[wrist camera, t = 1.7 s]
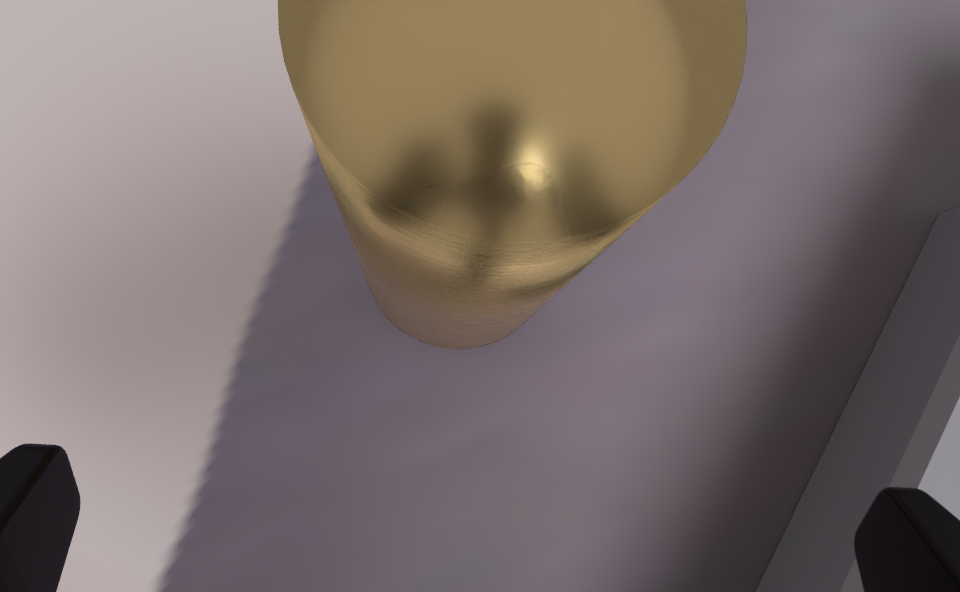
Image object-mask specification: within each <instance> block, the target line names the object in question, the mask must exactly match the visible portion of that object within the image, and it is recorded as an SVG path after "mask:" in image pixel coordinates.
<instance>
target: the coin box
mask: <svg viewBox="0 0 960 592" xmlns="http://www.w3.org/2000/svg"><path fill="white" fill-rule="evenodd" d="M885 487H904V488H917V489H920V490H923V491H924V492H926V493H927V494H929V495H930V496H931V497H933V498H934V499H935V500H936V501H937V502H939V503H940V504H941V505H942V506H943V507H945V508H946V509H947V510H948V511H949V512H951V513H952V514H953V515H954V516H955V517H957V518H958V519H959V520H960V206H957V207H955V208H952V209H950V210H947V211H944V212H942V213H939V215H938V217H937V219H936V221H935V223H934V225H933V227H932V229H931V231H930V233H929V235H928V237H927V239H926V242H925V244H924V246H923V248H922V250H921V252H920V254H919V256H918V258H917V260H916V262H915V264H914V266H913V268H912V270H911V272H910V274H909V277H908V279H907V281H906V283H905V285H904V287H903V289H902V291H901V293H900V295H899V297H898V299H897V301H896V303H895V305H894V307H893V309H892V312H891V314H890V316H889V318H888V320H887V322H886V324H885V326H884V328H883V330H882V332H881V334H880V336H879V338H878V340H877V342H876V344H875V347H874V349H873V351H872V353H871V355H870V357H869V359H868V361H867V363H866V365H865V367H864V369H863V371H862V373H861V375H860V377H859V379H858V382H857V384H856V386H855V388H854V390H853V392H852V394H851V396H850V398H849V400H848V402H847V404H846V406H845V408H844V410H843V412H842V414H841V417H840V419H839V421H838V423H837V425H836V427H835V429H834V431H833V433H832V435H831V437H830V439H829V441H828V443H827V445H826V447H825V449H824V452H823V454H822V456H821V458H820V460H819V462H818V464H817V466H816V468H815V470H814V472H813V474H812V476H811V478H810V480H809V482H808V484H807V487H806V489H805V491H804V493H803V495H802V497H801V499H800V501H799V503H798V505H797V507H796V509H795V511H794V513H793V515H792V517H791V519H790V522H789V524H788V526H787V528H786V530H785V532H784V534H783V536H782V538H781V540H780V542H779V544H778V546H777V548H776V550H775V552H774V554H773V557H772V559H771V561H770V563H769V565H768V567H767V569H766V571H765V573H764V575H763V577H762V579H761V581H760V583H759V585H758V587H757V589H756V592H864V590H863V586H862V581H861V577H860V573H859V569H858V565H857V560H856V556H855V551H854V536H855V532H856V529H857V527H858V526H859V524H860V522H861V521H862V519H863V517H864V515H865V514H866V512H867V510H868V509H869V507H870V505H871V504H872V502H873V500H874V498H875V497H876V495H877V494H878V492H879V491H880V490H882V489H884V488H885Z"/></svg>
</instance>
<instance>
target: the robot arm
mask: <svg viewBox="0 0 960 592" xmlns="http://www.w3.org/2000/svg"><path fill="white" fill-rule="evenodd" d="M79 511H80V494H79V491H78V487H77V485H76V481H75V478H74V475H73V472H72V469H71V465H70V462H69V459H68V456H67V454H66V451H65V450H64V449H63V448H62V447H60V446H57V445H45V444H23V445H20V446H18V447H15V448H14V449H12V450H11V451H10V452H8V453H7V454H6V455H4V456H3V457H2V458H0V592H56V590H57V587H58V583H59V580H60V577H61V574H62V570H63V567H64V564H65V560H66V557H67V553H68V550H69V547H70V543H71V540H72V537H73V534H74V530H75V527H76V524H77V520H78V516H79ZM854 551H855V556H856V560H857V565H858V569H859V573H860V577H861V581H862V586H863V590H864V592H960V520H959V519H958V518H957V517H955V516H954V515H953V514H952V513H951V512H949V511H948V510H947V509H946V508H945V507H943V506H942V505H941V504H940V503H939V502H937V501H936V500H935V499H934V498H933V497H931V496H930V495H929V494H927V493H926V492H924V491H923V490H920V489H917V488H904V487H885V488H884V489H882V490H880V491H879V492H878V494H877V495H876V497H875V498H874V500H873V502H872V504H871V505H870V507H869V509H868V510H867V512H866V514H865V515H864V517H863V519H862V521H861V522H860V524H859V526H858V527H857V529H856V532H855V536H854Z"/></svg>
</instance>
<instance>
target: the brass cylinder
mask: <svg viewBox="0 0 960 592" xmlns="http://www.w3.org/2000/svg"><path fill="white" fill-rule="evenodd" d="M278 16H279V34H280V39H281V46H282V52H283V57H284V62H285V65H286V68H287V71H288V74H289V77H290V81H291V84H292V87H293V90H294V92H295V95H296V97H297V100H298V103H299V105H300V108H301V111H302V113H303V116H304V118H305V121H306V124H307V126H308V129H309V132H310V134H311V137H312V139H313V142H314V145H315V147H316V150H317V152H318V155H319V158H320V160H321V163H322V166H323V168H324V171H325V173H326V176H327V179H328V181H329V184H330V186H331V189H332V192H333V194H334V197H335V199H336V202H337V205H338V207H339V210H340V213H341V215H342V218H343V220H344V223H345V226H346V228H347V231H348V233H349V236H350V239H351V241H352V244H353V246H354V249H355V252H356V254H357V257H358V260H359V262H360V265H361V267H362V270H363V273H364V275H365V278H366V280H367V283H368V286H369V288H370V291H371V293H372V295H373V297H374V299H375V301H376V303H377V304H378V306H379V307H380V309H381V310H382V312H383V313H384V314H385V315H386V316H387V317H388V319H389V320H390V321H391V322H392V323H393V324H395V325H396V326H397V327H398V328H399V329H400V330H402V331H403V332H405V333H406V334H408V335H409V336H411V337H413V338H415V339H417V340H419V341H421V342H424V343H426V344H429V345H432V346H436V347H441V348H448V349H470V348H475V347H481V346H484V345H487V344H490V343H493V342H496V341H498V340H500V339H502V338H504V337H506V336H507V335H509V334H510V333H512V332H513V331H515V330H516V329H517V328H518V327H520V326H521V325H522V324H523V323H524V322H525V321H526V320H528V319H529V318H530V317H531V316H532V315H533V314H534V313H535V312H536V311H537V310H539V309H540V308H541V307H542V306H543V305H544V304H545V303H546V302H547V301H549V300H550V299H551V298H552V297H553V296H554V295H555V294H556V293H557V292H559V291H560V290H561V289H562V288H563V287H564V286H565V285H566V284H567V283H569V282H570V281H571V280H572V279H573V278H574V277H575V276H576V275H577V274H579V273H580V272H581V271H582V270H583V269H584V268H585V267H586V266H587V265H588V264H590V263H591V262H592V261H593V260H594V259H595V258H596V257H597V256H598V255H600V254H601V253H602V252H603V251H604V250H605V249H606V248H607V247H608V246H610V245H611V244H612V243H613V242H614V241H615V240H616V239H617V238H618V237H620V236H621V235H622V234H623V233H624V232H625V231H626V230H627V229H628V228H630V227H631V226H632V225H633V224H634V223H635V222H636V221H637V220H638V219H639V218H641V217H642V216H643V215H644V214H645V213H646V212H647V211H648V210H649V209H651V208H652V207H653V206H654V205H655V204H656V203H657V202H658V201H659V200H661V199H662V198H663V197H664V196H665V195H666V194H667V193H668V192H669V191H671V190H672V189H673V188H674V187H675V186H676V185H677V184H678V183H679V182H681V181H682V180H683V179H684V178H685V177H686V176H687V175H688V174H689V173H690V172H691V170H692V169H693V168H694V167H695V166H696V165H697V164H698V162H699V161H700V160H701V159H702V158H703V157H704V155H705V154H706V153H707V152H708V150H709V148H710V147H711V145H712V144H713V142H714V141H715V139H716V138H717V136H718V135H719V133H720V131H721V130H722V128H723V126H724V124H725V122H726V119H727V117H728V115H729V113H730V111H731V109H732V106H733V104H734V102H735V98H736V95H737V92H738V88H739V85H740V82H741V78H742V74H743V68H744V62H745V55H746V49H747V15H746V6H745V0H278Z"/></svg>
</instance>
